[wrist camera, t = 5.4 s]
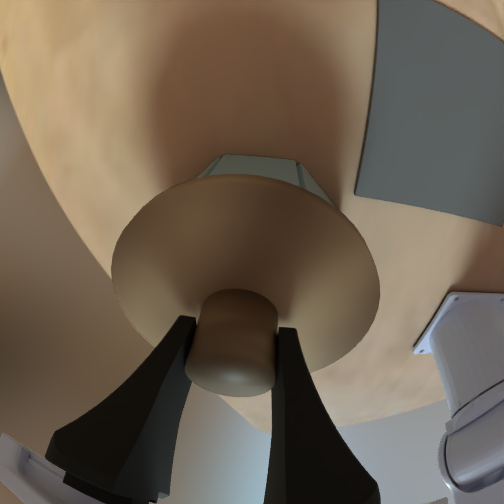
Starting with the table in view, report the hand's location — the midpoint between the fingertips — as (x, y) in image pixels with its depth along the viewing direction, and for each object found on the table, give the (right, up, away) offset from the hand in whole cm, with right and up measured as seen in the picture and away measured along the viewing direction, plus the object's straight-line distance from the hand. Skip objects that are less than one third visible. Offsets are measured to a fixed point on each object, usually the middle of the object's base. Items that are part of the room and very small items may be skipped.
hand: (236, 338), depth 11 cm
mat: (+13, +11, 0) cm, 17 cm away
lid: (0, +1, +1) cm, 2 cm away
